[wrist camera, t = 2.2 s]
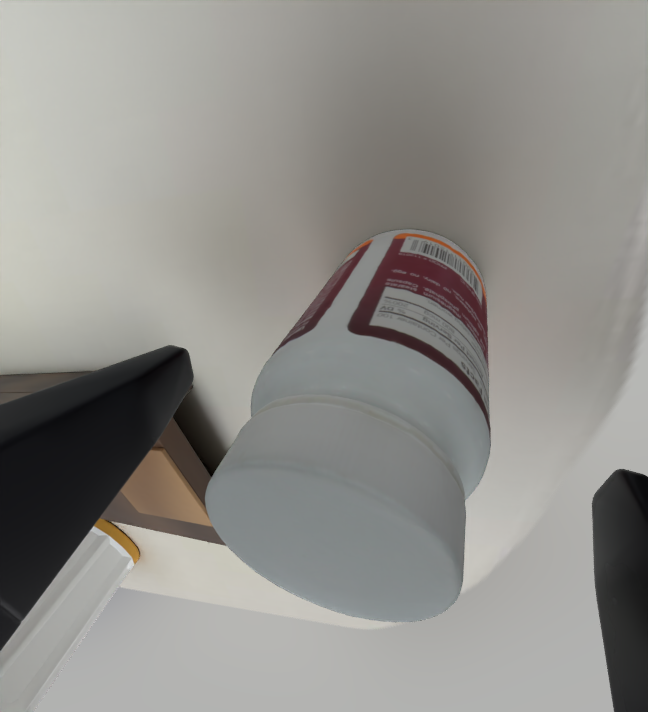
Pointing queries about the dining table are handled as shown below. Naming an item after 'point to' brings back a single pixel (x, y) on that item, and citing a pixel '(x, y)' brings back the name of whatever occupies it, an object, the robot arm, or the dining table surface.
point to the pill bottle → (367, 436)
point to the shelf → (146, 474)
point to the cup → (63, 616)
